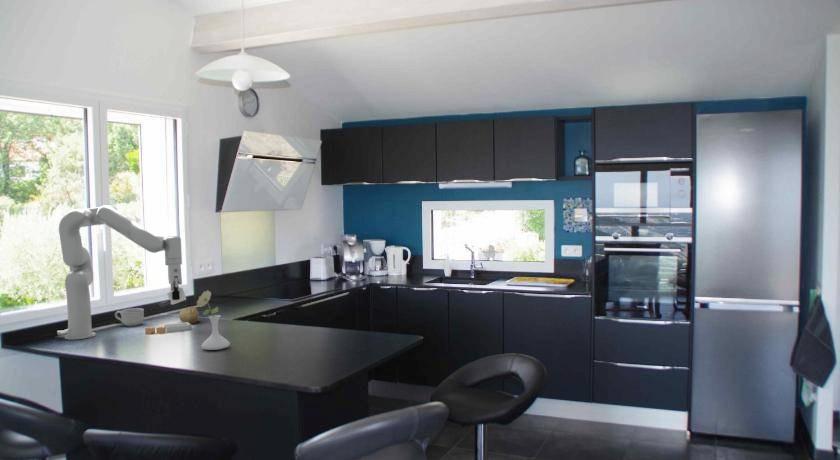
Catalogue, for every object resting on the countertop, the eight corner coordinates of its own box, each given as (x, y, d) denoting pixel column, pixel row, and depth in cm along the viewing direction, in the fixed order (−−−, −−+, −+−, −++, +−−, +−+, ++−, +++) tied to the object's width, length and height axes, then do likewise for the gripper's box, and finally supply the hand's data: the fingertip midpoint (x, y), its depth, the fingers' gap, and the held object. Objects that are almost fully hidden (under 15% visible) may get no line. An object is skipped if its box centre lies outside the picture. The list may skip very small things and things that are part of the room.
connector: (161, 308, 299) (157, 297, 298) (160, 307, 302) (156, 296, 301) (186, 299, 305) (182, 288, 304) (185, 298, 308) (181, 287, 307)
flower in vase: (220, 344, 269) (217, 286, 268) (235, 348, 262) (233, 288, 261) (192, 350, 259) (189, 290, 258) (207, 354, 251) (205, 292, 250)
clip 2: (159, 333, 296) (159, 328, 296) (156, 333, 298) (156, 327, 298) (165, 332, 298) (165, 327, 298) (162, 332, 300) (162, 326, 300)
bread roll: (197, 319, 333) (196, 304, 332) (200, 324, 319) (200, 308, 319) (178, 321, 328) (177, 306, 328) (180, 326, 315) (180, 310, 315)
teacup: (148, 323, 325) (147, 307, 325) (137, 327, 314) (136, 311, 314) (123, 323, 327) (122, 308, 326) (111, 327, 316) (110, 311, 316)
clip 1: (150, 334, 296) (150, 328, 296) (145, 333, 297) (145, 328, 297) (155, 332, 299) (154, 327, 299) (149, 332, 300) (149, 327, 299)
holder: (167, 332, 298) (166, 327, 298) (164, 329, 306) (164, 324, 306) (191, 329, 304) (190, 324, 304) (187, 327, 311) (187, 322, 311)
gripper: (184, 262, 298) (186, 300, 299) (178, 260, 312) (180, 296, 313) (168, 263, 294) (169, 302, 295) (162, 261, 308) (164, 297, 309)
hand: (175, 298), depth 304 cm, fingers closed on connector, 3 cm apart
